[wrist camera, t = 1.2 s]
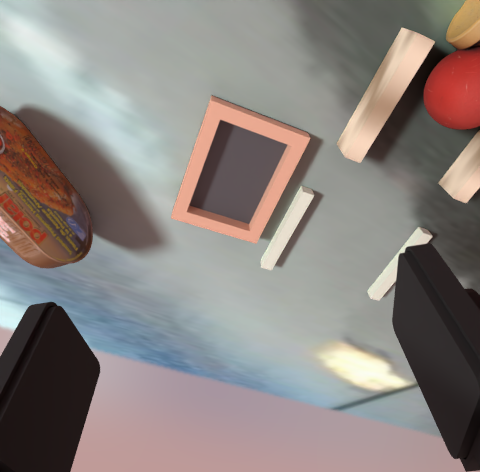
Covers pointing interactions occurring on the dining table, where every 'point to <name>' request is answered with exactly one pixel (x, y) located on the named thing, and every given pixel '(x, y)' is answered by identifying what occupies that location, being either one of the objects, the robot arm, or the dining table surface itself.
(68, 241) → the tin
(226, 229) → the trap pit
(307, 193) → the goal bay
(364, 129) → the lane
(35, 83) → the dining table surface
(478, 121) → the kendama
